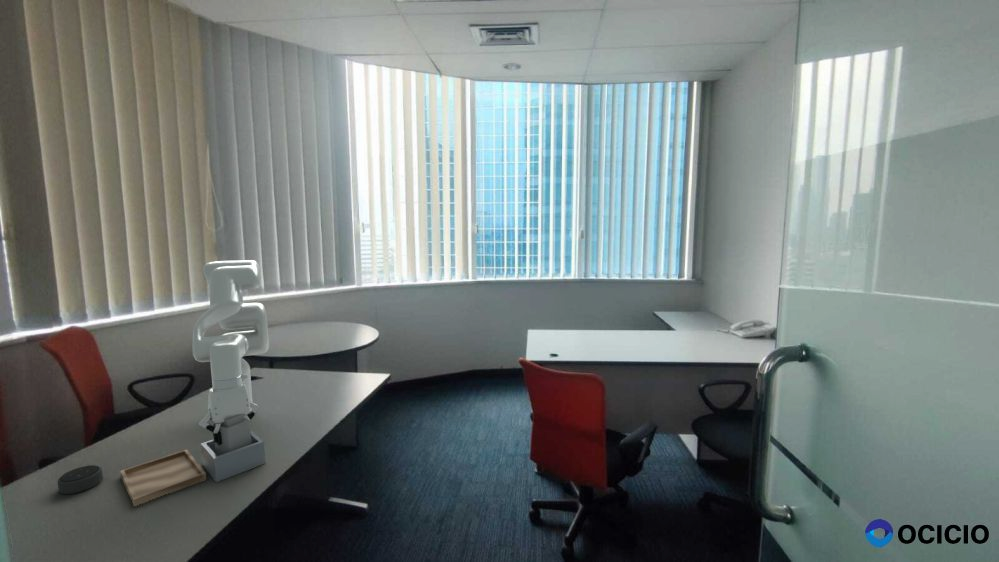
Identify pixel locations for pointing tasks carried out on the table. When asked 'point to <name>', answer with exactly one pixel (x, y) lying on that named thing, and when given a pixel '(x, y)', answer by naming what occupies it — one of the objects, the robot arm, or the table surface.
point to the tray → (161, 476)
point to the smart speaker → (80, 479)
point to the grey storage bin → (232, 458)
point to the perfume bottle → (234, 434)
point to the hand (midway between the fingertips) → (232, 438)
